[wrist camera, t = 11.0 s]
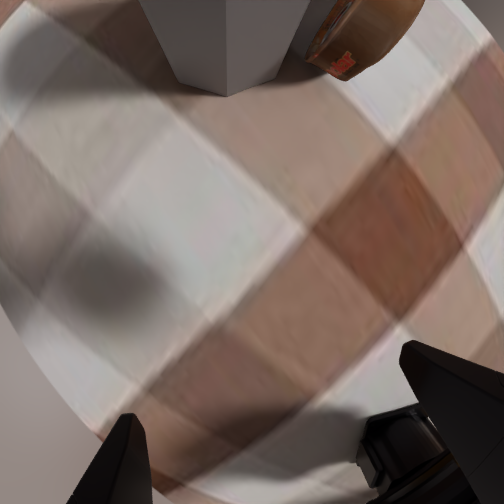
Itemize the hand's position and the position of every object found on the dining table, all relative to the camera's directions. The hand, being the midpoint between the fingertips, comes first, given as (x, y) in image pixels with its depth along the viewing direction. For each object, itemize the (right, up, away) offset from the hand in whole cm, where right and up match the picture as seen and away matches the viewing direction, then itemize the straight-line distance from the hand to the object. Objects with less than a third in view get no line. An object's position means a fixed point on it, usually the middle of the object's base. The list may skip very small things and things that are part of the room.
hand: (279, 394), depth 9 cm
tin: (+6, +20, +6) cm, 22 cm away
